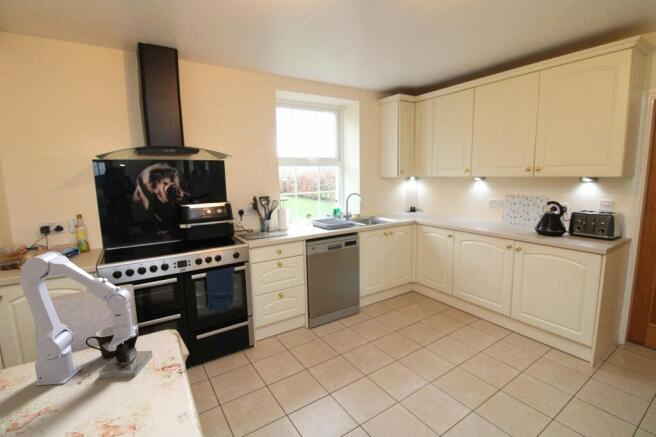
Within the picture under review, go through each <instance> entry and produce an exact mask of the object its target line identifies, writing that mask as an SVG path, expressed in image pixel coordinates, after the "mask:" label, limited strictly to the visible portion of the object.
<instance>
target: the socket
mask: <svg viewBox="0 0 656 437" xmlns="http://www.w3.org/2000/svg"><path fill="white" fill-rule="evenodd" d="M136 351H137V356H136V357H135V358H134V360H133V361H132V362H131V363H130V364H121V363H117V359H116V356H115V357H114V358H113V359H110V360H109V362H108V363H107V364H105V365H104V366H103V367H102V368H101V369H100V370H99V371H98V378H99V380H101V379H117V378H134V377H135V378H136V377H137V375H138V374H140V372H141V371H142V370H143V369H144V368H145V366H147V365H148V362H150V360H151V359H152V358H153V356H154V355H153V350H136Z"/></svg>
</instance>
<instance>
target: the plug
mask: <svg viewBox="0 0 656 437" xmlns="http://www.w3.org/2000/svg"><path fill="white" fill-rule="evenodd" d="M137 351H138V350H137V347H135V348H127V352H126V362H125V363H121V364H130V363H131V362H132V361H133V360H134V358H135V357H136V356H137ZM116 359H117V358H116ZM117 363H119V362H118V360H117Z"/></svg>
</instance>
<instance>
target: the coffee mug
mask: <svg viewBox="0 0 656 437" xmlns="http://www.w3.org/2000/svg"><path fill="white" fill-rule="evenodd" d="M113 337H114V332H113V325H111V326H107V327H104V328H101V329H100V330H98V331H97V332H96V333H95V336H93V335H92V336H89V337H87V338H86V340H85V345H86V346H87V347H89V348H91V349H94V350H98V351H100V353H101V354H100V355H101V357H102V359H103V360H106V361H107V360H112V359H113V358H114V357H115V355H114V353H113V352H112V351H109V350H108V345H109V344H110V343H111V341H112V339H113ZM90 339H94V340H96V341H97V343H98V347H96V346H93V345H91V344H89V342H88V341H89V340H90ZM122 343H123V342H122ZM123 344H124V343H123Z"/></svg>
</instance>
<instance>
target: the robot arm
mask: <svg viewBox="0 0 656 437" xmlns="http://www.w3.org/2000/svg"><path fill="white" fill-rule="evenodd" d="M20 270H21V276H20V281H19V284H20V287H21V289H22V291H23V294H24V296H25V299H26V301H27V304H28V306H29V309H30V311H31V314H32V316H33V318H34V321H35V324H36V325H37V328H38V330H39V331H38V332H39V334H38V336H37V339H36V345H37V350H36V353H37V355H38V358H36V361H35V364H34V370H35V376H36V381H37V382H36V383H35V386H46V385H62V384H63V385H64V384H65V383H68V381H70V379H71V378H72V377H74V376H75V375H76V374H78V373H79V372H80V371H81V370H82V369H81V367H75V365H74V358H73V353H72V345H71V344H72V342H73V341H74V338H75V335H74V332H72V331H71V330H70V329H69V328H68V326H67V324H64V323H61V321H60V318H59V316H58V314H57V310H56V308H55V305H54V303H53V301H52V299H51V296H50V293H49V291H48V288H47V285H46V284H45V283H46V280H47V279H48V278H49V277H51V276H65V277H67V278H68V279H70V280H73V281H74V282H77V283H79V284H81V285H83V286H85V287H86V290H87V291H86V292H88V293H89V294H91V295H92V296H95V297H96V298H98V299H100V300H101V301H104V302H105V305H106V306H107V308H108V309H110V315H111V321H112V322H111V324H112V326H113V332H114V337H113V339H112V341H111V343H110V344H109V345H108V350H109V351H112V352H113V353H114V355H115V356H116V358H117V360H118V362H119V363H125V362H126V352H127V348H136V344H137V341H138V338H139V335H140V334H139V332H136V331H138V330H139V328H138V327H139V325H138V324H133V320H132V312H131V305H130V301H131V299H132V293H131V291H130V290H129V289H128V288H127V287H121V286H116V285H114V284H113V283H111V282H109V279H108V278H105V277H104V278H103V277H93V276H92V275H91V274H89V273H88V272H86V271H85V270H83V269H82V268H80V267H78V266H77V265H76V264H74V263H73V262H72V261H70V260H69V258H68V257H67V256H65V255H62V254H61V253H60V252H58V251H55V250H50V251H47V252H44V253H42V254H40V255H36V256H34V257H30V258H28V259H26V261H25V262H24V263H23V264H22V265H20ZM122 342H123V343H122Z"/></svg>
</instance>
